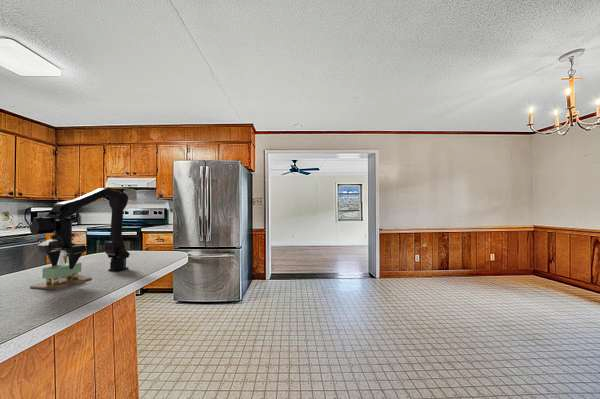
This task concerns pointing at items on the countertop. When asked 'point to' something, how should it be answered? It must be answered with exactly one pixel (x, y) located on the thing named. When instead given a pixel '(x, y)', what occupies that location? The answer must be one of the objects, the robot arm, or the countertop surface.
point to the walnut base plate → (61, 282)
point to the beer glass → (63, 257)
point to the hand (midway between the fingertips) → (62, 268)
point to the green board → (60, 270)
